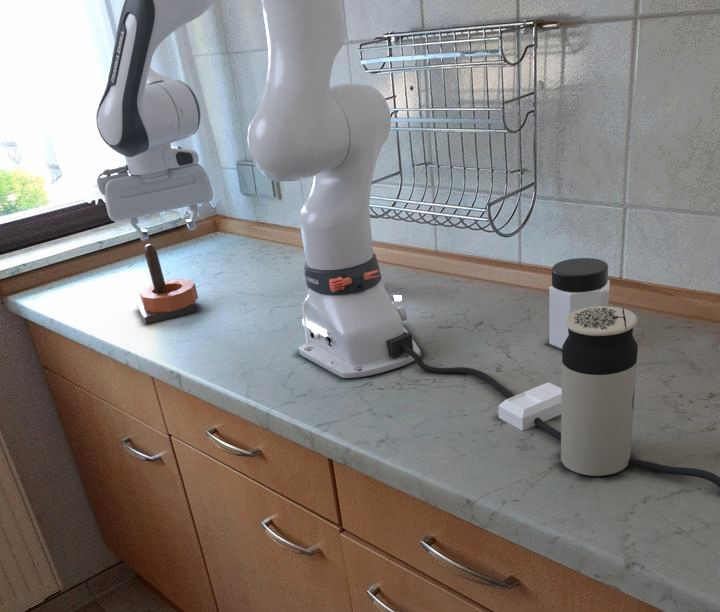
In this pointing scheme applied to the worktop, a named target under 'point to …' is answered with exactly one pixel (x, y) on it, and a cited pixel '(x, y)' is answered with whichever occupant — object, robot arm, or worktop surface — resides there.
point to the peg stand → (158, 289)
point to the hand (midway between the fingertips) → (168, 234)
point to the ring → (169, 296)
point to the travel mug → (598, 390)
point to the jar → (575, 292)
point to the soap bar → (532, 406)
